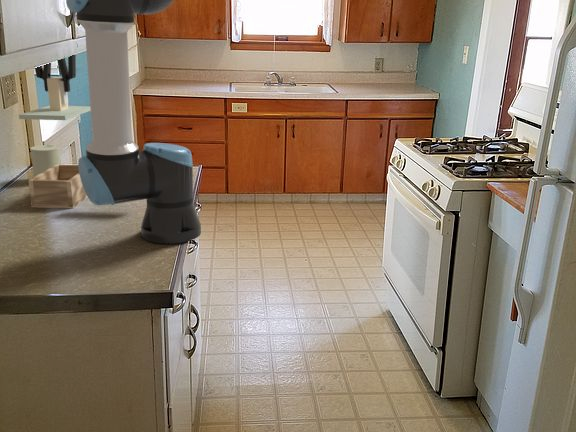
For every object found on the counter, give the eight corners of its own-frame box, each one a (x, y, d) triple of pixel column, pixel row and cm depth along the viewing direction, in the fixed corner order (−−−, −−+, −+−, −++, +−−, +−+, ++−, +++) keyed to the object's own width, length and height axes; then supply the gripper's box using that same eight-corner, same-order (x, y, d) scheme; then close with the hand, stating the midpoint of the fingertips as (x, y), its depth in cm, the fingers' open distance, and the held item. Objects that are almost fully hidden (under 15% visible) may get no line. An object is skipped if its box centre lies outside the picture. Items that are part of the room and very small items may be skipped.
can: (68, 178, 191) (65, 144, 187) (55, 185, 182) (51, 149, 178) (42, 177, 192) (39, 142, 188) (28, 183, 183) (24, 148, 179)
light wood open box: (73, 208, 160) (70, 181, 157) (31, 207, 160) (28, 180, 157) (96, 189, 179) (94, 165, 176) (59, 188, 179) (56, 164, 176)
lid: (65, 120, 151) (61, 82, 148) (19, 119, 151) (14, 80, 148) (91, 110, 171) (88, 76, 168) (50, 109, 171) (46, 75, 168)
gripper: (83, 19, 158) (90, 102, 166) (27, 17, 158) (37, 101, 166) (74, 18, 151) (81, 105, 158) (15, 17, 151) (25, 104, 158)
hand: (58, 103), depth 162 cm, fingers closed on lid, 3 cm apart
